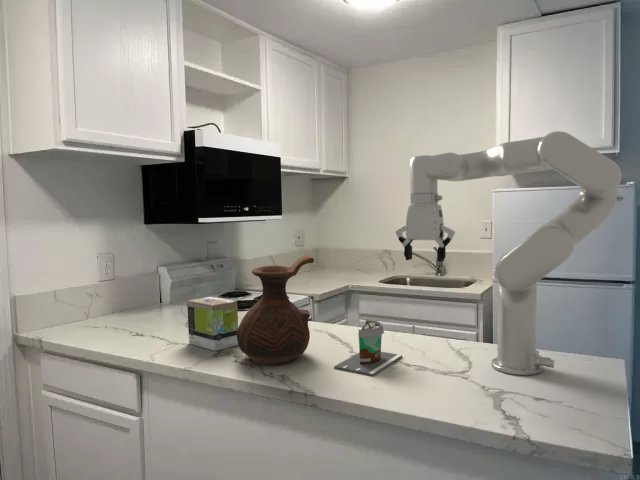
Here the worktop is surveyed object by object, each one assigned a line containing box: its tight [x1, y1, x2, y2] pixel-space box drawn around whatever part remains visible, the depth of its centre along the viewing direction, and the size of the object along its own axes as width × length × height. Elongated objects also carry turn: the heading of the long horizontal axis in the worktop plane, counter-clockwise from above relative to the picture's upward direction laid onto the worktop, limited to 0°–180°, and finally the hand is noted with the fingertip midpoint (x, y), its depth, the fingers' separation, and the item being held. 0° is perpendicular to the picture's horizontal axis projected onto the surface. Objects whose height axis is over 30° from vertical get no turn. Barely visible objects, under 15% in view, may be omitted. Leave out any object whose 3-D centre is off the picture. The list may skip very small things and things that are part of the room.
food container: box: [357, 319, 385, 364], centre depth 137 cm, size 12×6×10 cm, turn 165°
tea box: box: [186, 296, 239, 352], centre depth 159 cm, size 15×10×15 cm
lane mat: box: [333, 351, 403, 377], centre depth 137 cm, size 12×18×1 cm, turn 146°
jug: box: [237, 254, 315, 366], centre depth 142 cm, size 22×22×30 cm
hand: (424, 260), depth 138 cm, fingers open, 9 cm apart
